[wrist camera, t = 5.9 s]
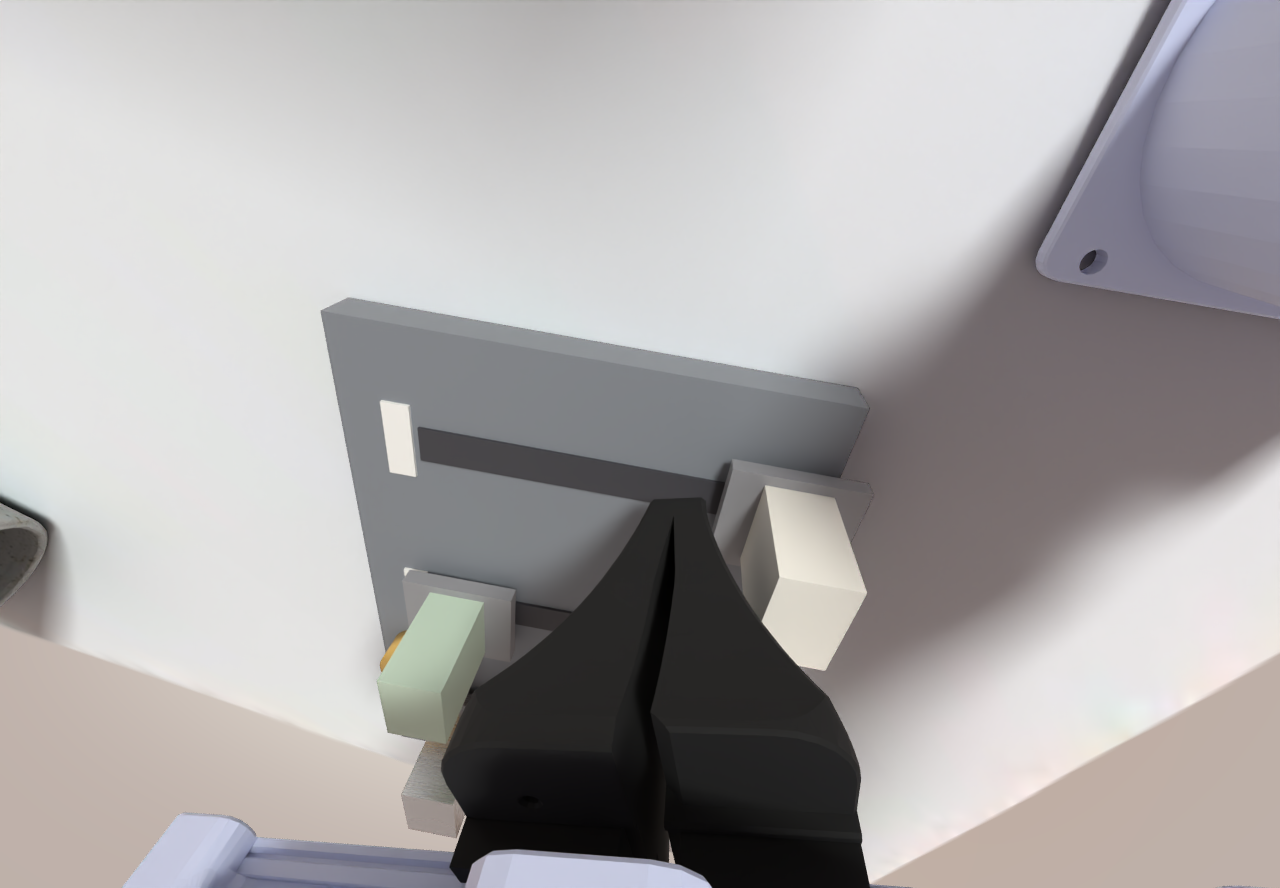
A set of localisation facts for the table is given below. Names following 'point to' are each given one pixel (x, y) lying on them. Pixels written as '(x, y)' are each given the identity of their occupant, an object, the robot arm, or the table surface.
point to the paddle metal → (432, 792)
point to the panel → (545, 451)
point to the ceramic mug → (18, 550)
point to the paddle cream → (795, 553)
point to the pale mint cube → (443, 651)
